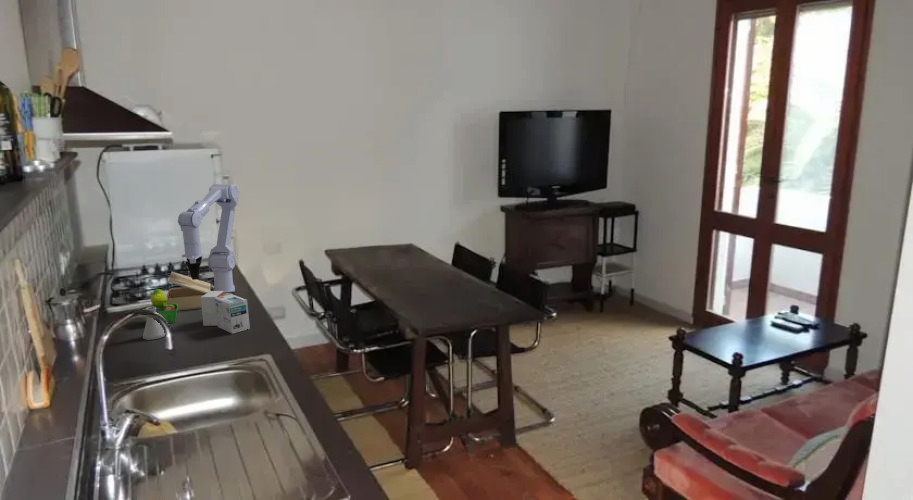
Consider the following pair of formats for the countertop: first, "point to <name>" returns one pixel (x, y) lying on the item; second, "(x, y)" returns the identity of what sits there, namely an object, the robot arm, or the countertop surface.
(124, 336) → the countertop surface
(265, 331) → the countertop surface
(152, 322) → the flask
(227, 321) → the light bulb box
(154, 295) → the fruit basket
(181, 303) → the cardboard box
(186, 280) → the cardboard lid
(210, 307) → the small box
